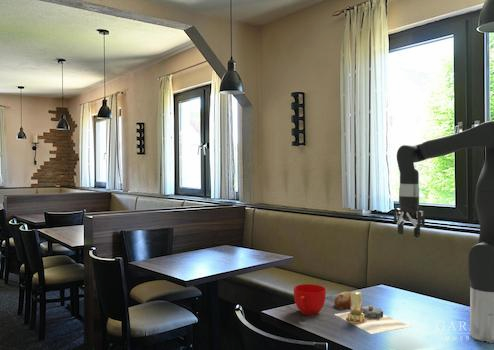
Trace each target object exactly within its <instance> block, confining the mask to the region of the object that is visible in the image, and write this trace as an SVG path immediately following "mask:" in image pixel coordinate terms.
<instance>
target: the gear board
mask: <svg viewBox="0 0 494 350" xmlns="http://www.w3.org/2000/svg"><path fill="white" fill-rule="evenodd" d="M350 312H351V311H347V312H339V313H333V314H334V316H336V317H338V318H340V319H342V320H344V321H346V322H347V323H349V324H351V325H353V326H356V327H357V328H359V329H360V330H362V331H365V333H368V334H370V335H374V334H381V333H385V332H390V331H396V330H402V329H405V328H410V327H412V326H411V325H408V324H406V323H404V322H401V321H399V320H396V319H395V318H393V317H391V316H388V315H386V314H384V310H382V308H380V307H376V306H373V305H372V304H371V305H370V304H369V305H368V306H365V305H362V313H363V315H364V321H362V322H354V321H349V319H348V313H350Z"/></svg>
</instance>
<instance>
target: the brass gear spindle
mask: <svg viewBox="0 0 494 350" xmlns="http://www.w3.org/2000/svg"><path fill="white" fill-rule="evenodd" d="M350 293H351V309H350V311H349V312H350V313H348V319H349V321H354V322H362V321H364V315H363V313H362V306H363V304H362V301H363V300H362V297H363V295H362V294H363V293H362V292H360V291H351V292H350Z"/></svg>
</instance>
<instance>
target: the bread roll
mask: <svg viewBox="0 0 494 350" xmlns="http://www.w3.org/2000/svg"><path fill="white" fill-rule="evenodd" d="M334 306H335V307H336V308H337V309H340V308H341V309H340V310H345V309H348V311H349V310H350V311H351V292H349V291H343V292H340V293H339V294H337V295H336V297H335V298H334Z"/></svg>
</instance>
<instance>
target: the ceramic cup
mask: <svg viewBox="0 0 494 350" xmlns="http://www.w3.org/2000/svg"><path fill="white" fill-rule="evenodd" d="M326 293H327V289H326V287H324V286H322V285H319V284H318V285H317V284H313V283H312V284H310V283H309V284H308V283H307V284H306V283H305V284H304V283H303V284H297V285H294V287H293V296H294V297H293V299H294V303H295V305H296V307H297V309H298V310H299V311H300V312H301V314H302V315H305V316H315V315H318V314H319V313H320V312H321V310H322V309H323V308H324V305H325V302H326Z"/></svg>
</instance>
